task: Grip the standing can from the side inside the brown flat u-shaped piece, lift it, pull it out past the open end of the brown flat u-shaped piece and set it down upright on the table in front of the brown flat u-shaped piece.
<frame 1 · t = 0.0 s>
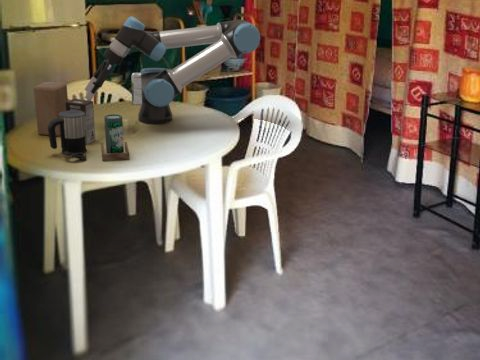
hand: (87, 95, 251), 15 cm above the table, tool tilted 35°, fingers open, 13 cm apart
milk frother: (75, 155, 229), on the table
block: (54, 132, 253), on the table
can: (115, 156, 229), resting in brown flat u-shaped piece
syrup box: (138, 103, 301), on the table
coffee box: (81, 141, 244), on the table
brown flat u-shaped piece: (115, 155, 229), on the table
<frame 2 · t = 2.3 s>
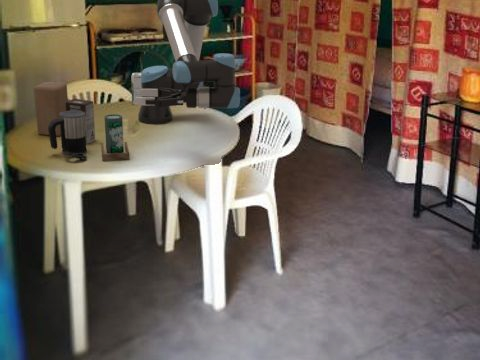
hand: (138, 96, 221), 22 cm above the table, tool horizontal, fingers open, 13 cm apart
nothing on the table moved.
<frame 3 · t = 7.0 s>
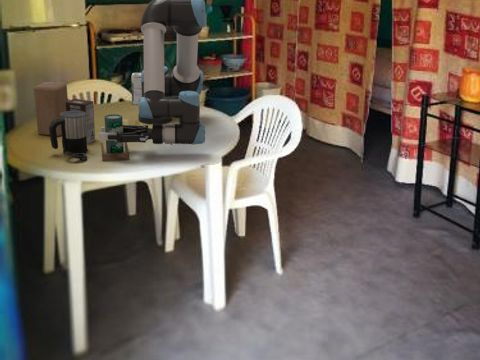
hand: (100, 133, 225), 8 cm above the table, tool horizontal, fingers closed on can, 6 cm apart
can: (115, 156, 229), resting in brown flat u-shaped piece, touching gripper
everything else where it was.
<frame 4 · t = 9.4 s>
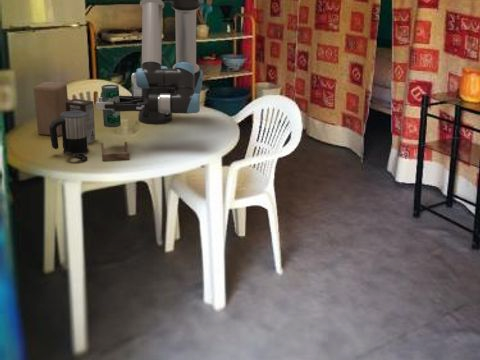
hand: (97, 103, 231), 17 cm above the table, tool horizontal, fingers closed on can, 6 cm apart
can: (112, 125, 235), point 9 cm above the table, touching gripper
everything else where it was.
when the fingers open (10 cm above the table, at t = 12.0 s): can drops 1 cm, on the table.
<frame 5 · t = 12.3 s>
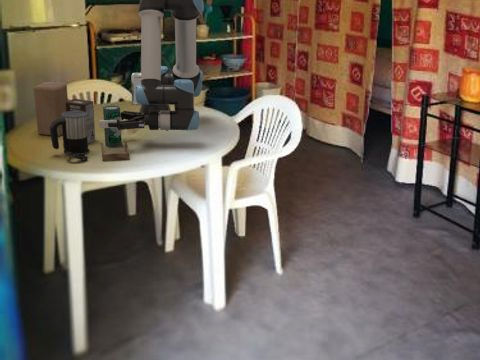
hand: (101, 119, 237), 10 cm above the table, tool horizontal, fingers open, 11 cm apart
can: (113, 145, 240), on the table
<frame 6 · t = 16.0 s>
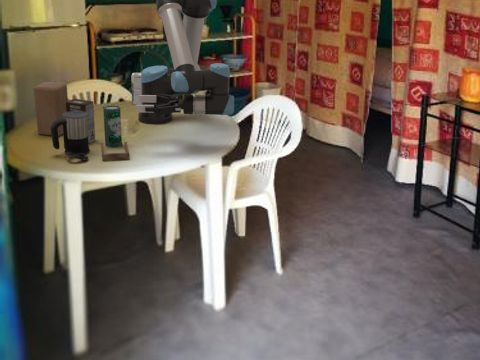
hand: (137, 103, 234), 17 cm above the table, tool horizontal, fingers open, 13 cm apart
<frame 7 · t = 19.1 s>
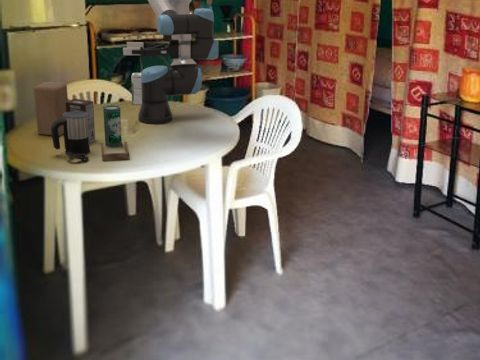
hand: (125, 48, 241), 35 cm above the table, tool horizontal, fingers open, 13 cm apart
at the end: can inside the target area (1.6 cm from its centre), on the table; can tilted 0°; the gripper is holding nothing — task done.
